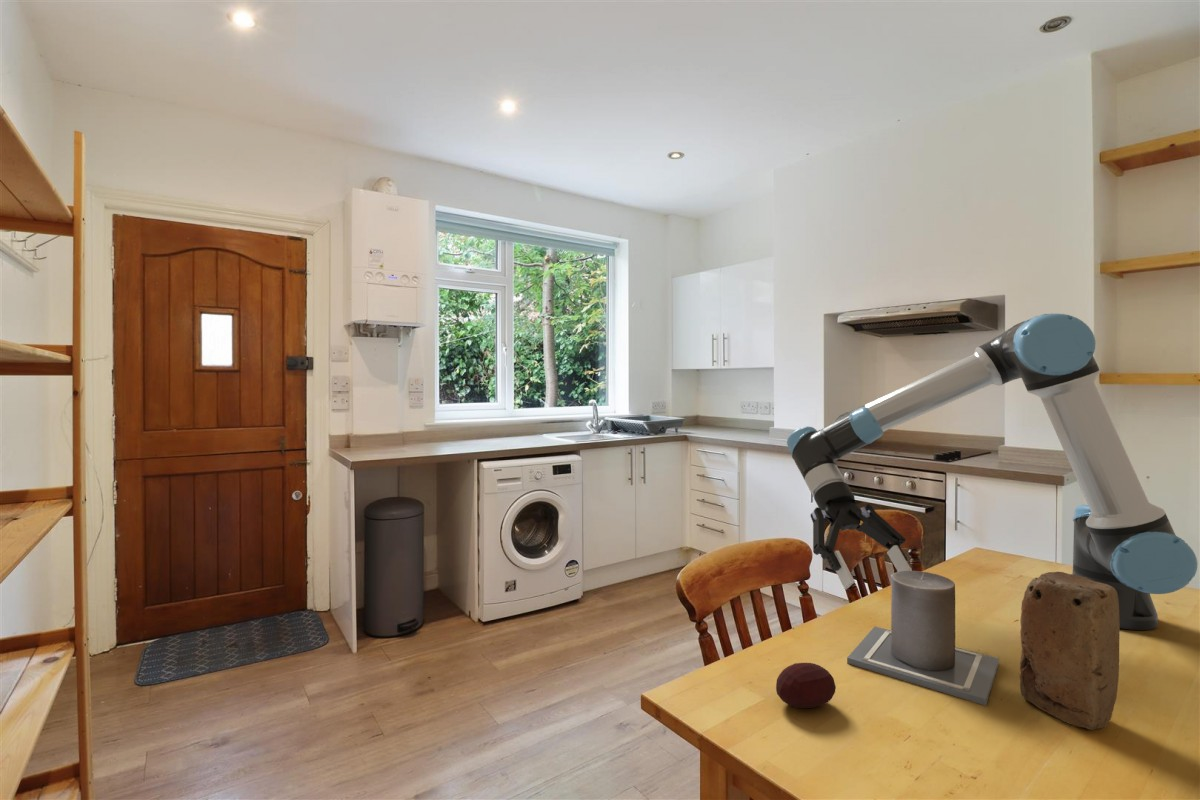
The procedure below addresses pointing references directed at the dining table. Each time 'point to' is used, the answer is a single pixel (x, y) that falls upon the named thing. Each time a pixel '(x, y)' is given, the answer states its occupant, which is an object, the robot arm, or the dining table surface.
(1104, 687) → the block
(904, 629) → the pillar candle
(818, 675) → the potato
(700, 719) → the dining table surface
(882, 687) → the dining table surface
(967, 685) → the slate tile
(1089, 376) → the robot arm
